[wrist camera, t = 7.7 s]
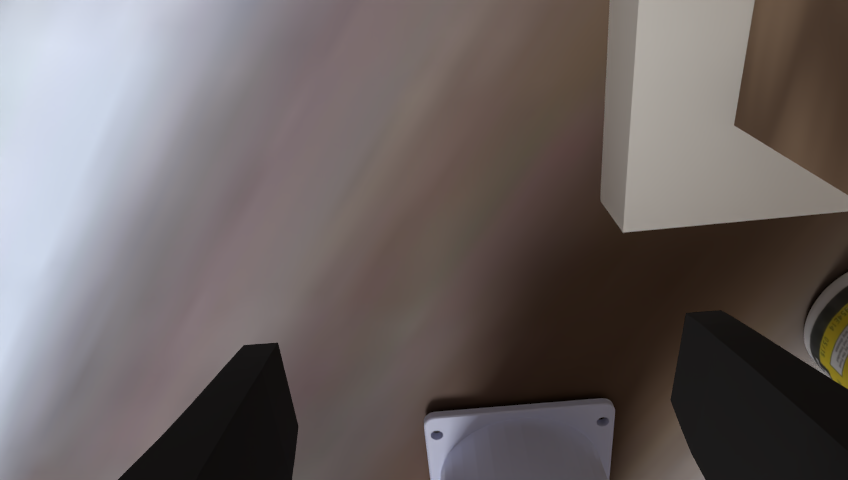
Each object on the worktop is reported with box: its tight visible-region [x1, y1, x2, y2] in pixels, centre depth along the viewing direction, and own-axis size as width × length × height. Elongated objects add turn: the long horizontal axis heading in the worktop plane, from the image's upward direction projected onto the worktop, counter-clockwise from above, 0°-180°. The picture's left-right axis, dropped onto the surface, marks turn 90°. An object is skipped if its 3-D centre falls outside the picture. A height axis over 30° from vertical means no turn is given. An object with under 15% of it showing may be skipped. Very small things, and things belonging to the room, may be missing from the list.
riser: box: [600, 0, 848, 233], centre depth 17 cm, size 10×10×3 cm
